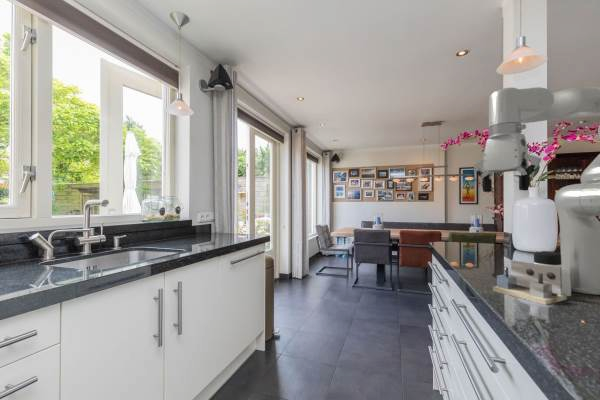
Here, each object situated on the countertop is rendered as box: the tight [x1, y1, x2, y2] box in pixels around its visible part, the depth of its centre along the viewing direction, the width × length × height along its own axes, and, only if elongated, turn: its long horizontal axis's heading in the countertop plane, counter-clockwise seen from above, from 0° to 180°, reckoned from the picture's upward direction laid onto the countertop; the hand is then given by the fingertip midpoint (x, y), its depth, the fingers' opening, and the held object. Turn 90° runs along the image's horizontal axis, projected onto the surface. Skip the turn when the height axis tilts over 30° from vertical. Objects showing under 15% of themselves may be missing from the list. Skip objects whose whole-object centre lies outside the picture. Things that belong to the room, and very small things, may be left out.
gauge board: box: [492, 259, 568, 306], centre depth 79 cm, size 10×13×8 cm
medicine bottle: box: [533, 250, 572, 297], centre depth 82 cm, size 7×7×12 cm
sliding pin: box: [496, 266, 517, 289], centre depth 82 cm, size 4×3×6 cm
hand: (504, 191), depth 81 cm, fingers open, 9 cm apart
